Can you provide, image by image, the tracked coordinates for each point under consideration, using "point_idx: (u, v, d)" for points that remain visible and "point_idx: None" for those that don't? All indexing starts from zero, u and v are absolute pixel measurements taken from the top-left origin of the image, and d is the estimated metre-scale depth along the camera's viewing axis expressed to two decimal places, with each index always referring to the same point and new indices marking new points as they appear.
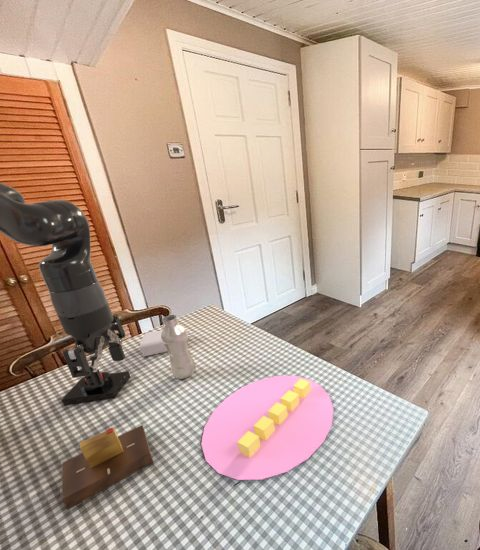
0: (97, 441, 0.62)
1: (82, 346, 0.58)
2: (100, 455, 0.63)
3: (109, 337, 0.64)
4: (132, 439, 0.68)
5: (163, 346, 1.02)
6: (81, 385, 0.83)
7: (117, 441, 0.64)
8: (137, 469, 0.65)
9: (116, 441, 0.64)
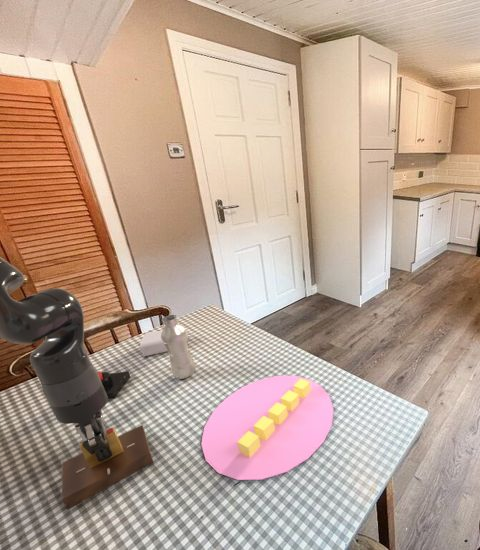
0: None
1: (95, 435, 0.58)
2: None
3: (100, 415, 0.63)
4: (132, 439, 0.68)
5: (163, 346, 1.02)
6: None
7: (117, 441, 0.64)
8: (137, 469, 0.65)
9: (116, 441, 0.64)
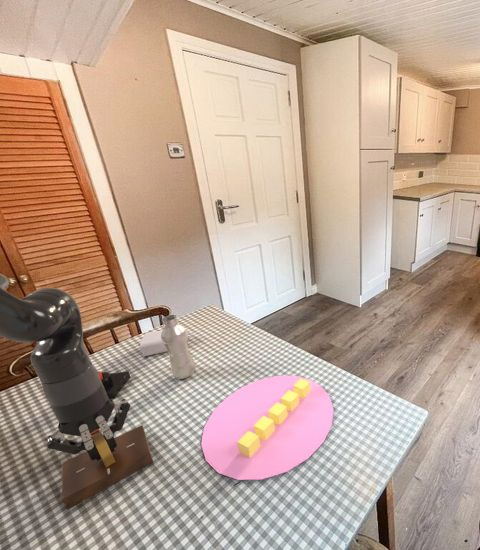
0: None
1: None
2: None
3: None
4: (132, 439, 0.68)
5: (163, 346, 1.02)
6: None
7: None
8: (137, 469, 0.65)
9: None
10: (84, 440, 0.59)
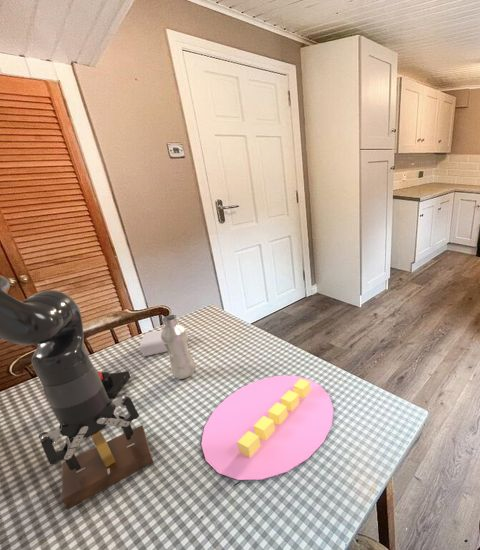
0: None
1: None
2: None
3: None
4: (132, 439, 0.68)
5: (162, 346, 1.02)
6: None
7: None
8: (137, 469, 0.65)
9: None
10: (72, 445, 0.58)
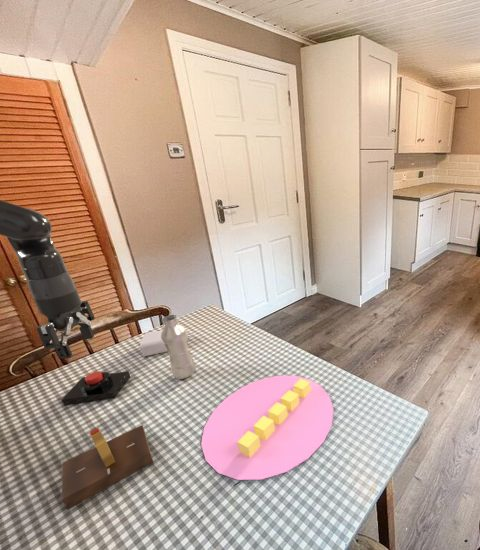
0: None
1: None
2: None
3: None
4: (132, 439, 0.68)
5: (162, 346, 1.02)
6: (81, 385, 0.83)
7: None
8: (137, 469, 0.65)
9: None
10: (67, 332, 0.74)
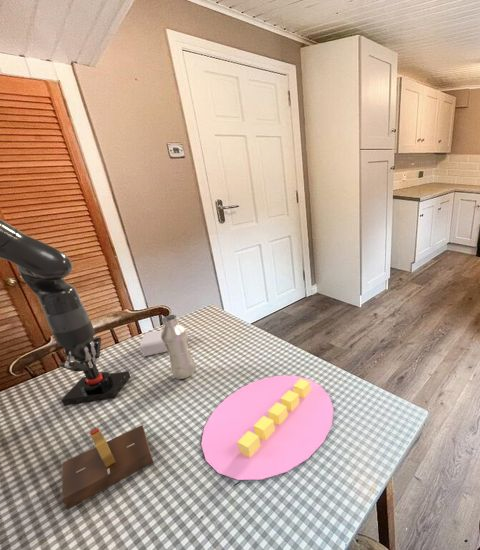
0: None
1: None
2: None
3: None
4: (132, 439, 0.68)
5: (162, 346, 1.02)
6: (81, 385, 0.83)
7: None
8: (137, 469, 0.65)
9: None
10: (88, 359, 0.81)
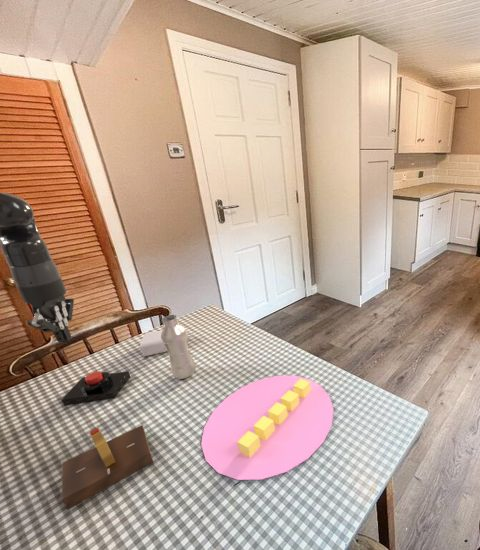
0: None
1: None
2: None
3: None
4: (132, 439, 0.68)
5: (162, 346, 1.02)
6: (81, 385, 0.83)
7: None
8: (137, 469, 0.65)
9: None
10: (59, 319, 0.75)
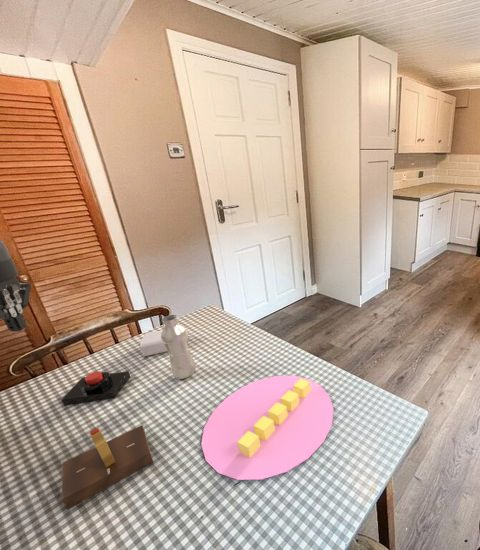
0: None
1: None
2: None
3: None
4: (132, 439, 0.68)
5: (162, 346, 1.02)
6: (81, 385, 0.83)
7: None
8: (137, 469, 0.65)
9: None
10: (9, 305, 0.67)
